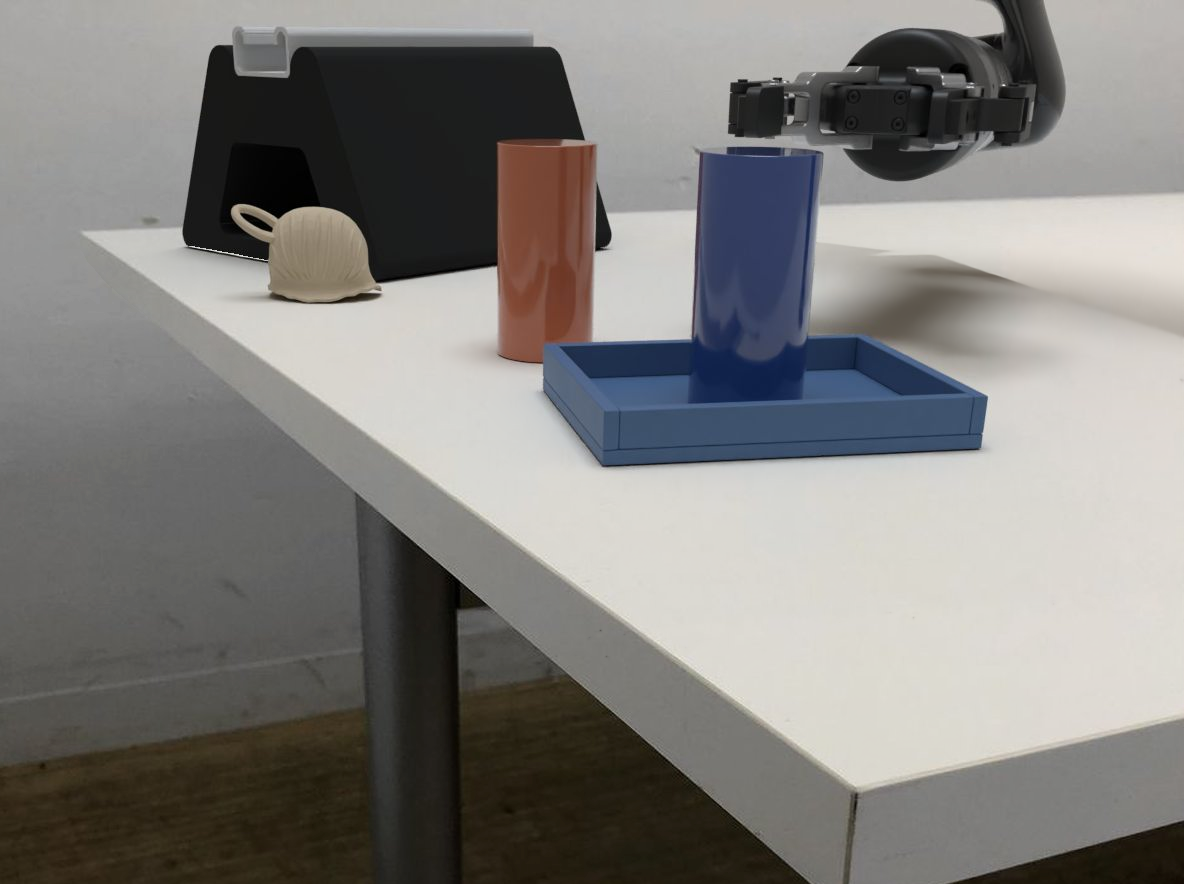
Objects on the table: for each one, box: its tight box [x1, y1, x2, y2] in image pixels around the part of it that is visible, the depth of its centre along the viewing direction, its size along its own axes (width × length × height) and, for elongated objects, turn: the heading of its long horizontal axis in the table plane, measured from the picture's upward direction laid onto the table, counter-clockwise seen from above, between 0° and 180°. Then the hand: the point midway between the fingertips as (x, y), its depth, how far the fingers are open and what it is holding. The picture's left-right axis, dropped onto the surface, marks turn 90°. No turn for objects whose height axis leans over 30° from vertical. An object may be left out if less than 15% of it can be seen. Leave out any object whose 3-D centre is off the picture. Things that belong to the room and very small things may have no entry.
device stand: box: [181, 25, 613, 282], centre depth 101 cm, size 22×22×15 cm
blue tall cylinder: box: [687, 146, 825, 404], centre depth 56 cm, size 5×5×10 cm
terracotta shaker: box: [496, 139, 598, 364], centre depth 68 cm, size 5×5×10 cm
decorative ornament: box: [231, 204, 382, 303], centre depth 83 cm, size 4×8×5 cm, turn 84°
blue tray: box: [542, 333, 989, 466], centre depth 58 cm, size 15×12×2 cm
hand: (842, 115), depth 63 cm, fingers open, 8 cm apart
